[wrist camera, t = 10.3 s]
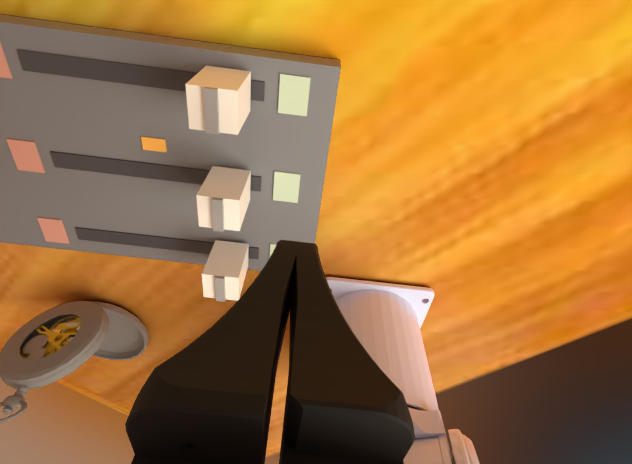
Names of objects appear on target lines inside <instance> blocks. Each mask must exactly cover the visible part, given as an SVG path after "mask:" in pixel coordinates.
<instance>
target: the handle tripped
mask: <svg viewBox="0 0 632 464" xmlns="http://www.w3.org/2000/svg"><path fill="white" fill-rule="evenodd" d="M250 183H251V171H250V170H242V169H234V168H226V167H217V166H212V168H211V170H210V172H209V174H208V175H207V177H206V179H205V181H204V182H203V184H202V186H201V188H200V190H199V191H198V193H197V195H196V198H197V210H198V222H199V227H207V228H213V231H220V232H224V229H225V230H234V231H240V229H241V226H242V223H243V220H244V217H245V214H246V211H247V208H248V205H249V202H250Z"/></svg>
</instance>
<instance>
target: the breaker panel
mask: <svg viewBox="0 0 632 464" xmlns="http://www.w3.org/2000/svg"><path fill="white" fill-rule="evenodd" d="M206 65H207V66H214V67H222V68H229V69H237V70H245V71H251V100H250V112H249V114H248V116H247V118H246V120H245V122H244V124H243V126H242V128H241V130H240V132H239V133H238V135H234V134H226V133H219V134H210V133H206V131H202V130H194V129H189V120H188V108H187V97H186V85H185V84H186V83H187V82H188V81H189V80H191V79H192V78H193V77H194V76H195V75H196V74H197V73H198V72H200V71H201V70H202V69H203V68H204V67H205V66H206ZM340 68H341V65H340V60H337V59H330V58H322V57H315V56H307V55H300V54H293V53H285V52H278V51H270V50H263V49H255V48H248V47H241V46H233V45H226V44H218V43H211V42H203V41H196V40H188V39H181V38H174V37H166V36H159V35H151V34H144V33H136V32H129V31H122V30H114V29H107V28H99V27H92V26H84V25H77V24H70V23H62V22H55V21H47V20H40V19H32V18H25V17H18V16H10V15H3V14H0V242H3V243H12V244H21V245H30V246H39V247H48V248H57V249H66V250H75V251H84V252H93V253H102V254H111V255H121V256H130V257H139V258H148V259H157V260H166V261H175V262H184V263H193V264H202V265H206V262H207V260H208V257H209V255H210V252H211V250H212V248H213V245H214V243H215V240H219V241H227V242H236V243H245V244H249V247H248V269H247V270H256V271H262V269H263V268H264V266H265V265H266V263H267V261H268V260H269V258H270V256H271V255H272V253H273V251H274V249H275V247H276V244H277V242H278V241H279V240H289V241H297V242H306V243H315V238H316V232H317V225H318V218H319V211H320V204H321V198H322V191H323V184H324V177H325V170H326V164H327V157H328V150H329V143H330V136H331V130H332V123H333V116H334V109H335V102H336V96H337V89H338V82H339V75H340ZM212 166H217V167H226V168H234V169H242V170H250V171H251V183H250V202H249V205H248V208H247V211H246V214H245V217H244V220H243V223H242V226H241V229H240V231H234V230H225V229H224V232H220V231H213V228H207V227H199V222H198V210H197V198H196V195H197V193H198V191H199V190H200V188H201V186H202V184H203V182H204V181H205V179H206V177H207V175H208V174H209V172H210V170H211V168H212Z"/></svg>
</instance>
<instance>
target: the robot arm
mask: <svg viewBox="0 0 632 464" xmlns="http://www.w3.org/2000/svg"><path fill="white" fill-rule="evenodd" d="M330 288H331V289H330ZM426 298H427V299H426ZM433 298H434V291H433V289H431V288H427V287H418V286H409V285H400V284H391V283H382V282H373V281H364V280H355V279H345V278H336V277H325V275H324V272H323V269H322V265H321V262H320V258H319V254H318V247H317V245H316V244H315V243H306V242H297V241H289V240H279V241H278V242H277V244H276V247H275V249H274V251H273V253H272V255H271V256H270V258H269V260H268V261H267V263H266V265H265V266H264V268H263V269H262V271H261V272H260V274H259V275H258V277H257V278H256V279H255V281H254V282H253V283H252V284H251V286H250V287H249V288H248V289H247V291H246V292H245V293H244V294H243V296H242V297H241V298H240V299H239V300H238V301H237V302H236V303H235V304H234V306H233V307H232V308H231V309H230V310H229V311H228V312H227V313H226V314H225V315H224V316H223V317H222V318H220V319H219V320H218V321H217V322H216V323H215V324H214V325H213V326H212V327H211V328H210V329H208V330H207V331H206V332H205V333H203V334H202V335H201V336H200V337H198V338H197V339H196V340H195V341H193V342H192V343H191V344H190V345H188V346H187V347H186V348H184V349H183V350H181V351H180V352H179V353H177V354H176V355H174V356H173V357H171V358H170V359H168V360H167V361H165V362H164V363H162V364H161V365H159V366H157V367H156V368H155V369H154V370H153V372H152V373H151V375H150V376H149V378H148V379H147V381H146V382H145V384H144V386H143V387H142V389H141V391H140V393H139V394H138V396H137V398H136V400H135V402H134V405H133V407H132V409H131V412H130V414H129V417H128V419H127V421H126V424H125V425H126V432H127V434H128V437H129V440H130V442H131V445H132V448H133V450H134V453H135V456H134V458H133V461H132V463H131V464H264V463H265V455H266V447H267V440H268V432H269V424H270V416H271V408H272V400H273V393H274V385H275V377H276V371H277V365H278V360H279V356H280V351H281V347H282V342H283V338H284V333H285V329H286V324H287V320H288V316H289V311H290V351H289V376H288V386H287V395H286V404H285V414H284V423H283V432H282V441H281V451H280V460H279V464H453V462H452V458H451V453H450V449H449V445H448V441H447V437H446V433H445V429H444V425H443V421H442V417H441V414H440V411H439V410H438V405H437V401H436V396H435V392H434V388H433V383H432V379H431V375H430V370H429V366H428V362H427V358H426V353H425V349H424V345H423V340H422V336H421V332H420V328H421V326H422V323H423V321H424V319H425V316H426V314H427V312H428V310H429V307H430V305H431V303H432V300H433ZM423 299H424V300H423ZM448 432H449V436H450V440H451V444H452V448H453V451H452V454H453V459H454V463H455V464H479V461H478V458H477V455H476V452H475V449H474V446H473V443H472V441H471V440H470V439H469V438H467V437H466V436H465V435H462V434H461V432H460V431H459V430H458V429H450V430H448Z"/></svg>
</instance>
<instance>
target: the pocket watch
mask: <svg viewBox="0 0 632 464" xmlns="http://www.w3.org/2000/svg"><path fill="white" fill-rule="evenodd" d="M54 329H62V330H61V332H63V333H61V332H60V333H59V334H57V333H53V332H52V331H53V330H54ZM55 337H56V338H55ZM54 338H55V339H54ZM148 339H149V336H148V332H147V330H146V328H145V326H144V325H143V324H142V322H141V321H140V320H139V319H138V318H137V317H136V316H134V315H133V314H131V313H130V312H128V311H126V310H125V309H123V308H121V307H118V306H115V305H112V304H108V303H104V302H90V301H74V302H68V303H65V304H62V305H59V306H56V307H54V308H52V309H49V310H47V311H45V312H43V313H41V314H40V315H38V316H36V317H35V318H33V319H32V320H30V321H29V322H28V323H26V324H25V325H23V326H22V327H21V328H20V329H19V330H18V331H17V332H15V333H14V335H13V336H12V337H11V338H10V339H9V340H8V341H7V343H6V344H5V346H4V347H3V348H2V350H1V352H0V377H1V378H2V380H3V381H4V382H5V383H6V384H7V385H9V386H11V387H13V388H15V389H17V391H16V392H15V394H14V395H12V396H8V397H7V398H6V399H5V400H4V401H3V402H1V403H0V407H1V406H4V408H3V412H4V414H8V413H12V412H13V408H18V407H20V406H22V408H21V410H19V411H18V412H17V413H15V414H13V415H11V416H8V417H6V418H3V419H0V423H3V422H6V421H8V420H11V419H14V418H15V417H17V416H19V415H20V414H22V413H23V412H24V411H25V410H26V408H27V403H26V402H25V398H24V397H23V396H24V394H25V393H26V392H27V391H28V389H32V388H37V387H42V386H45V385H47V384H50V383H52V382H55V381H57V380H59V379H61V378H63V377H64V376H66V375H68V374H70V373H72V372H73V371H75V370H76V369H77V368H78V367H79V366H81V365H82V364H83V363H84V362H86V361H87V360H88V359H89V358H90V357H91V356H92V355H94V356H97V357H100V358H105V359H110V360H128V359H132V358H135V357H137V356H139V355H141V354H142V353H143V352H144V350H145V349H146V347H147V344H148ZM54 340H56V341H54ZM66 342H67V344H66ZM68 342H69V343H68ZM65 344H66V345H65Z"/></svg>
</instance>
